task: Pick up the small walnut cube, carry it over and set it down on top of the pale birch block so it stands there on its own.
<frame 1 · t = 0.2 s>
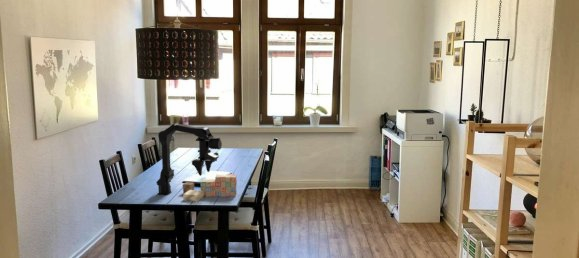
hand: (204, 173, 273), 14 cm above the table, fingers open, 9 cm apart
stack of blocks: (218, 195, 278), on the table
walnut cube: (188, 192, 282), on the table
birch block: (193, 198, 271), on the table
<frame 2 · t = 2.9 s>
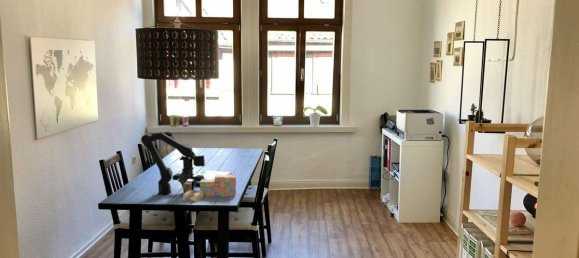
hand: (188, 191, 282), 1 cm above the table, fingers closed on walnut cube, 5 cm apart
walnut cube: (188, 192, 282), on the table, touching gripper
everything else where it was.
when the fingers open (6 cm above the table, at t = 6.4 s): walnut cube drops 1 cm, resting on birch block.
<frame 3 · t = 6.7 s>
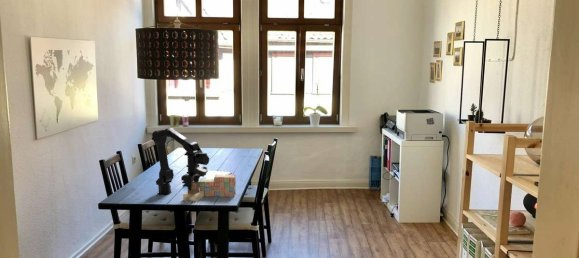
hand: (193, 188, 270), 6 cm above the table, fingers open, 8 cm apart
walnut cube: (193, 192, 270), point 4 cm above the table, touching birch block
birch block: (193, 199, 271), on the table, touching walnut cube
everything else where it was.
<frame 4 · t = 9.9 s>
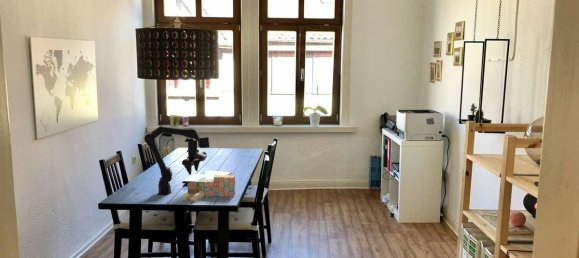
hand: (193, 172, 283), 12 cm above the table, fingers open, 9 cm apart
walnut cube: (193, 192, 270), point 4 cm above the table
birch block: (194, 199, 271), on the table
everything else where it was.
at the end: walnut cube inside the target area on the birch block (0.2 cm from its centre), point 4.0 cm above the birch block's base; walnut cube tilted 0°; the gripper is holding nothing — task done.
